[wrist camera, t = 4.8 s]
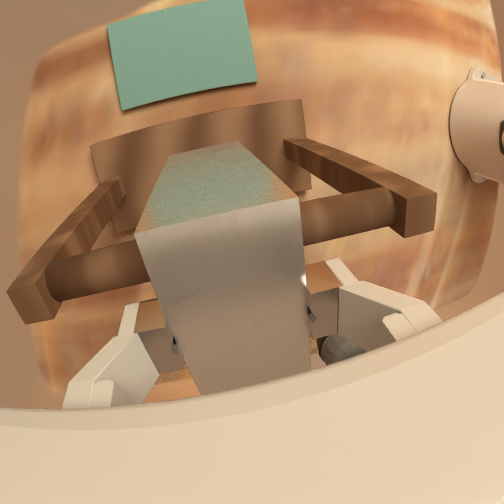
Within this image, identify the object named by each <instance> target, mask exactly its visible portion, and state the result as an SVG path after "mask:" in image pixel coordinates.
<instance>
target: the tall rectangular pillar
mask: <svg viewBox="0 0 504 504" xmlns="http://www.w3.org/2000/svg"><path fill="white" fill-rule="evenodd" d="M134 235H135V238H136V241H137V244H138V247H139V250H140V253H141V256H142V258H143V261H144V264H145V267H146V269H147V272H148V275H149V277H150V280H151V283H152V285H153V288H154V290H155V293H156V295H157V298H158V300H159V303H160V305H161V308H162V310H163V313H164V315H165V318H166V319H167V322H168V324H169V326H170V328H171V331H172V333H173V336H174V338H175V341H176V343H177V345H178V347H179V349H180V351H181V353H182V356H183V358H184V361H185V363H186V365H187V367H188V369H189V371H190V373H191V375H192V377H193V379H194V382H195V384H196V385H197V388H198V390H199V392H200V394H201V395H206V394H212V393H217V392H222V391H227V390H232V389H237V388H242V387H246V386H251V385H255V384H259V383H263V382H268V381H272V380H276V379H280V378H283V377H287V376H291V375H295V374H298V373H302V372H306V371H309V370H311V364H310V339H309V327H308V305H307V293H306V273H305V260H304V248H303V237H302V226H301V215H300V205H299V197H298V196H297V195H296V194H295V193H294V192H293V191H292V190H291V189H290V188H289V187H288V186H287V185H286V184H285V183H283V182H282V181H281V180H280V179H279V178H278V177H277V176H276V175H275V174H274V173H273V172H272V171H271V170H270V169H269V168H267V167H266V166H265V165H264V164H263V163H262V162H261V161H260V160H259V159H258V158H257V157H255V156H254V155H253V154H252V153H251V152H250V151H249V150H248V149H247V148H245V147H244V146H243V145H242V144H241V143H240V142H239V141H235V142H229V143H224V144H219V145H214V146H210V147H205V148H200V149H196V150H192V151H187V152H183V153H179V154H175V155H171V156H169V158H168V160H167V162H166V164H165V166H164V168H163V170H162V172H161V174H160V176H159V178H158V180H157V182H156V184H155V187H154V189H153V191H152V193H151V195H150V198H149V200H148V202H147V204H146V207H145V209H144V211H143V213H142V216H141V218H140V220H139V223H138V225H137V228H136V230H135V232H134Z"/></svg>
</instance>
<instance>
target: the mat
mask: <svg viewBox="0 0 504 504" xmlns="http://www.w3.org/2000/svg"><path fill="white" fill-rule="evenodd" d="M107 27H108V34H109V41H110V48H111V54H112V60H113V66H114V72H115V77H116V83H117V88H118V93H119V98H120V103H121V108H122V111H124V110H127V109H130V108H134V107H137V106H141V105H144V104H148V103H151V102H155V101H159V100H163V99H167V98H171V97H175V96H179V95H184V94H188V93H193V92H198V91H203V90H208V89H213V88H218V87H224V86H230V85H236V84H243V83H250V82H257V81H258V78H257V72H256V66H255V60H254V55H253V49H252V43H251V38H250V32H249V27H248V21H247V16H246V11H245V5H244V0H210V1H203V2H197V3H191V4H186V5H181V6H176V7H171V8H166V9H162V10H158V11H154V12H150V13H146V14H142V15H139V16H135V17H132V18H128V19H125V20H122V21H119V22H115V23H112V24H109V25H107Z"/></svg>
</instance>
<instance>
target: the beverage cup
mask: <svg viewBox="0 0 504 504" xmlns="http://www.w3.org/2000/svg"><path fill="white" fill-rule="evenodd" d="M317 346H318V349H319V355H320V357H321V359H322V360H323V361H324V362H325V363H326V365H329V364H332V363H336V362H339V361H342V360H345V359H348V358H351V357H354V356H357V355H360V354H363V353H366V352H367V351H365V350H364V349H362V348H360V347H359V346H357V345H355V344H354V343H352V342H350V341H349V340H347V339H346V338H344V337H342V336H341V335H339V334H338V333H335V334H332V335H328V336H324V337H320V338H317Z"/></svg>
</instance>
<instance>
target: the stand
mask: <svg viewBox="0 0 504 504" xmlns="http://www.w3.org/2000/svg"><path fill="white" fill-rule="evenodd" d="M235 141H239V142H240V143H241V144H242V145H243V146H244V147H245V148H247V149H248V150H249V151H250V152H251V153H252V154H253V155H254V156H255V157H257V158H258V159H259V160H260V161H261V162H262V163H263V164H264V165H265V166H266V167H267V168H269V169H270V170H271V171H272V172H273V173H274V174H275V175H276V176H277V177H278V178H279V179H280V180H281V181H282V182H283V183H285V184H286V185H287V186H288V187H289V188H290V189H291V190H292V191H293V192H299V191H305V190H310V189H312V187H311V176H310V173H311V174H313V175H315V176H316V177H318V178H319V179H321V180H322V181H324V182H325V183H327V184H328V185H330V186H331V187H333V188H335V189H336V190H338V191H339V192H340V193H342V194H340V195H335V196H330V197H325V198H319V199H314V200H309V201H304V202H299V205H300V215H301V226H302V237H303V246H306V245H311V244H315V243H319V242H324V241H328V240H332V239H336V238H341V237H345V236H349V235H353V234H358V233H362V232H366V231H370V230H374V229H379V228H383V227H387V226H389V227H390V228H391V229H393V230H394V231H395V232H397V233H398V234H399V235H401V236H402V237H403V238H407V237H411V236H415V235H419V234H422V233H426V232H430V231H433V230H434V224H435V214H436V202H437V193H436V192H434V191H432V190H430V189H428V188H426V187H424V186H422V185H420V184H417V183H415V182H413V181H411V180H409V179H407V178H405V177H403V176H400V175H398V174H396V173H394V172H391V171H389V170H387V169H385V168H382V167H380V166H378V165H375V164H373V163H370V162H368V161H366V160H363V159H361V158H358V157H356V156H353V155H351V154H348V153H345V152H343V151H340V150H338V149H335V148H332V147H330V146H327V145H324V144H321V143H318V142H316V141H313V140H310V139H307V138H306V131H305V123H304V115H303V107H302V100H301V99H297V100H288V101H279V102H271V103H264V104H257V105H250V106H244V107H238V108H232V109H226V110H221V111H216V112H211V113H206V114H201V115H196V116H192V117H187V118H183V119H179V120H174V121H170V122H166V123H162V124H158V125H155V126H151V127H147V128H144V129H140V130H137V131H133V132H130V133H127V134H123V135H120V136H117V137H114V138H110V139H107V140H104V141H101V142H98V143H96V144H93V145H91V146H90V149H91V153H92V157H93V160H94V164H95V168H96V171H97V175H98V178H99V182H100V185H99V186H98V187H97V188H96V189H95V190H94V191H93V192H92V193H91V194H90V195H89V196H88V197H87V198H86V199H85V200H84V201H83V202H82V203H81V204H80V205H79V206H78V207H77V208H76V209H75V210H74V211H73V212H72V213H71V214H70V215H69V216H68V217H67V218H66V219H65V221H64V222H63V223H62V224H61V225H60V226H59V227H58V228H57V229H56V230H55V232H54V233H53V234H52V235H51V236H50V237H49V238H48V240H47V241H46V242H45V243H44V244H43V245H42V247H41V248H40V249H39V250H38V251H37V253H36V254H35V255H34V256H33V257H32V259H31V260H30V261H29V262H28V264H27V265H26V266H25V267H24V269H23V270H22V271H21V273H20V274H19V275H18V276H17V278H16V279H15V280H14V282H13V283H12V284H11V286H10V287H9V289H8V290H7V291H6V292H7V293H8V295H9V297H10V299H11V301H12V303H13V304H14V306H15V308H16V310H17V311H18V313H19V315H20V317H21V318H22V320H23V321H24V323H25V324H31V323H36V322H41V321H47V320H52V319H54V318H55V316H56V314H57V312H58V310H59V308H60V306H61V303H62V301H65V300H69V299H74V298H78V297H83V296H87V295H92V294H96V293H101V292H105V291H110V290H114V289H119V288H123V287H128V286H132V285H137V284H141V283H145V282H150V281H151V280H150V277H149V275H148V272H147V269H146V267H145V264H144V261H143V258H142V256H141V253H140V250H139V247H138V244H137V241H136V239H135V240H132V241H128V242H124V243H120V244H116V245H112V246H108V247H105V248H101V249H97V250H93V251H90V250H91V248H92V246H93V245H94V243H95V241H96V240H97V238H98V236H99V235H100V233H101V232H102V230H103V228H104V227H105V225H106V224H107V222H108V220H109V219H110V217H111V220H112V223H113V226H114V228H115V231H116V233H119V232H123V231H127V230H131V229H135V228H137V225H138V223H139V220H140V218H141V216H142V213H143V211H144V209H145V207H146V204H147V202H148V200H149V198H150V195H151V193H152V191H153V189H154V187H155V184H156V182H157V180H158V178H159V176H160V174H161V172H162V170H163V168H164V166H165V164H166V162H167V160H168V158H169V156H171V155H175V154H179V153H183V152H187V151H192V150H196V149H200V148H205V147H210V146H214V145H219V144H224V143H229V142H235Z"/></svg>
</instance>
